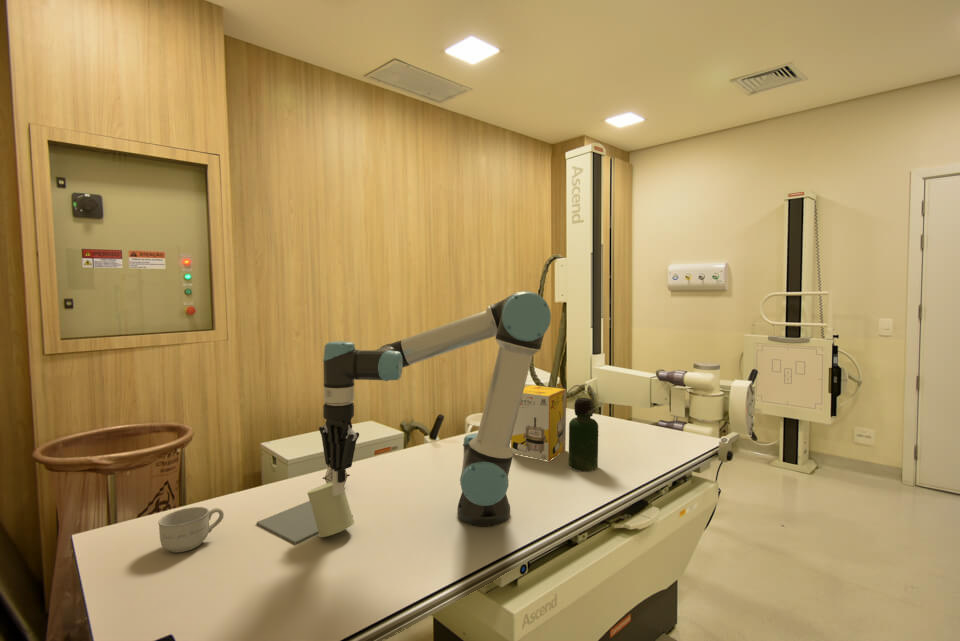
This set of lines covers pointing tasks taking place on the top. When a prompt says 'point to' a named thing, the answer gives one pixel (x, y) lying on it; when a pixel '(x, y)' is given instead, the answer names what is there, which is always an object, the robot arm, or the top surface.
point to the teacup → (186, 528)
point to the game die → (329, 475)
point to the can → (330, 510)
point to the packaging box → (540, 423)
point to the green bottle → (583, 437)
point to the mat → (293, 523)
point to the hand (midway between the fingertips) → (338, 493)
